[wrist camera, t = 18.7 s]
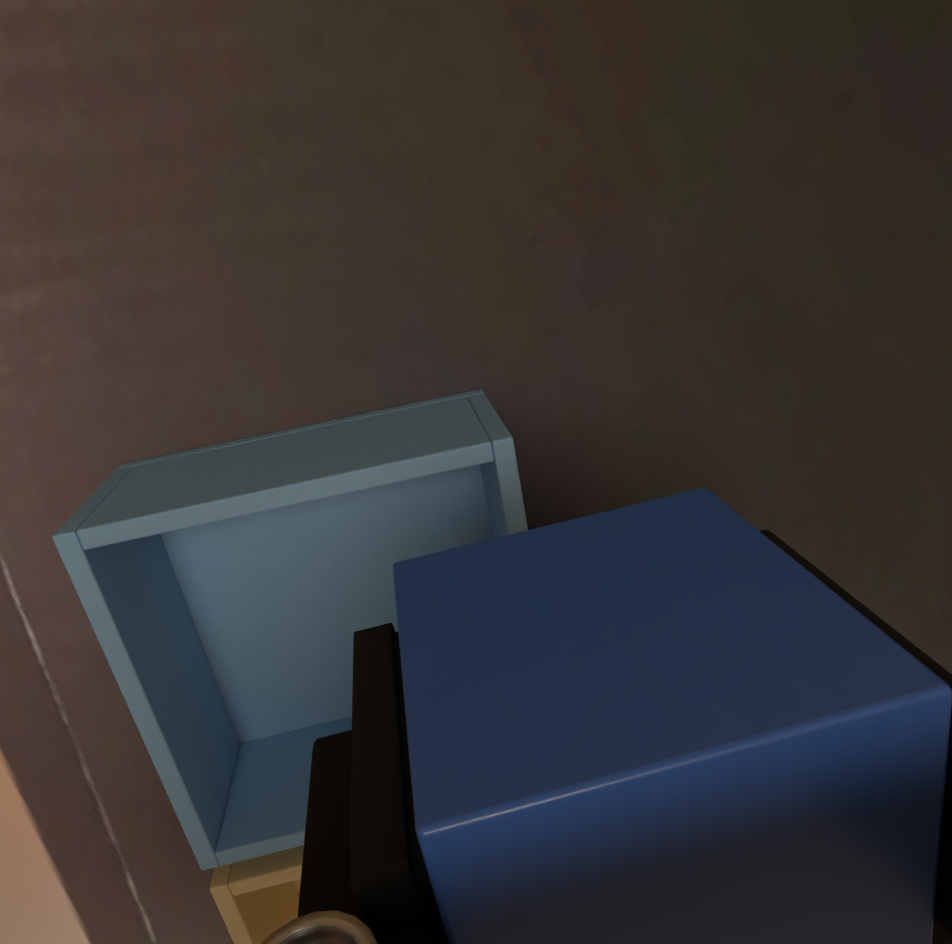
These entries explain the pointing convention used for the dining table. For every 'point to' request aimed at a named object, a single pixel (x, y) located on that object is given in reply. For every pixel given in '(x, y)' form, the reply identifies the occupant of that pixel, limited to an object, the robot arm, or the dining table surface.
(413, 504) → the blue bin
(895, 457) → the dining table surface
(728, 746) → the blue block
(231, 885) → the cream bin
